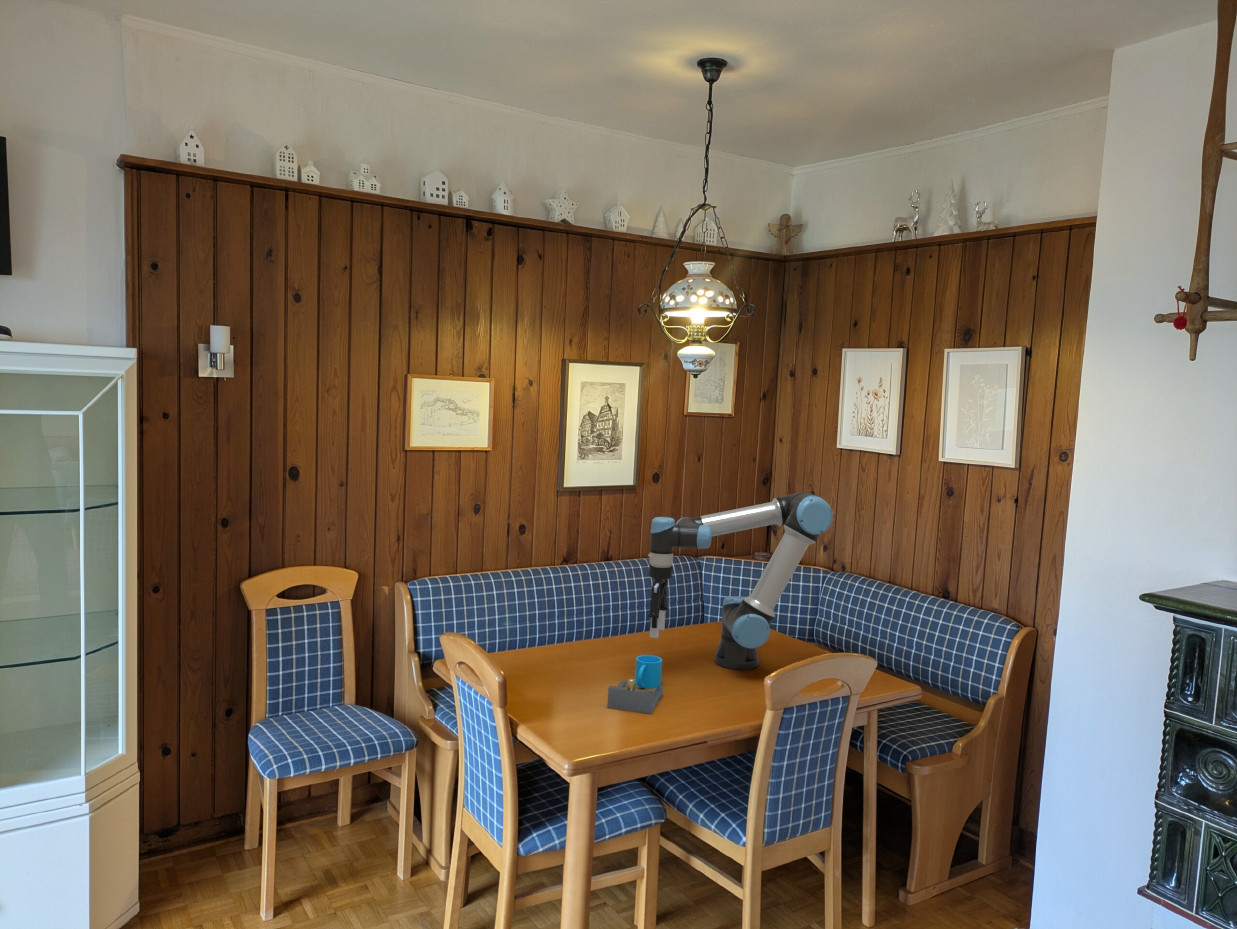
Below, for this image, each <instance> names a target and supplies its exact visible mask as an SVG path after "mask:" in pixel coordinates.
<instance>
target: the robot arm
mask: <svg viewBox="0 0 1237 929" xmlns="http://www.w3.org/2000/svg"><path fill="white" fill-rule="evenodd" d="M833 520H834V512H833V509H832V507H831V505H830V504H829V503H828V502H827V501H826V500H825V499H823V498H822V497H819V496H817V495H815V494H813V493H810V492H805V491H804V492H803V491H801V492H795V493H792V494H788V495H784V496H780V497H779V496H778V497H774V498H773V499H772V501H770V502H765V503H760V504H755V505H751V506H745V507H740V508H735V509H730V510H725V511H719V512H716V513H709V514H705V515H701V516H695V517H687V516H686V517H681V518H679V519H678V520H677V521H676V520H675V519H674V518H673V517H667V516H656V517H654V518H653V519H652V520H651V525H650V526H651V527H650V528H651V529H650V541H649V542H650V545H649V553H648V554H647V557H649V564H650V565H649V566H648V576H649V578H650V579H653V580H654V582H653V583H652V586H651V597H650V608H649V613H648V618H649V619H650V625H649V638H652V639H653V638H654V639H659V637H660V636H659V634H660V633H659V632H660V631H666V630H665V626H666V611H669V607H668V580H670V579H671V578H672V577H673V566H672V565H673V563H674V548H676V549H679V548H680V549H698V550H701V549H709V548H710V546H711V544H712V538H713V537H715V536H717V537H718V536H721V535H727V534H731V533H732V534H733V533H736V532H740V531H746V530H751V529H757V528H762V527H766V526H767V527H768V526H770V525H771V526H772V525H777V526H779V527H782V526H783V528H784V533H783V536H782V537H781V539H780V541H779V543H778V544H777V546H776V548H775V550H774V552H773V554H772V556H771V557H770V559H769V561H768V562H767V564H766V567H765V568H764V570H763V572H762V574H761V575H760V578H759V579H758V581H757V583H756V585H755V587H754V589H753V590H752V592H751V593H750V594H749V595H750V596H749V595H748V596H739V595H738V596H735V595H734V596H732V595H731V596H730V595H729V596H725V597H724V599H723V603H722V615H721V616H722V617H721V631H720V641H719V644H718V646H717V648H716V651H715V653H714V662H715V664H716V665H718V666H720V667H723V668H727V669H731V670H741V671H743V670H745V671H746V670H752V668H753V669H756V668H757V666H758V665H759V664H760V657H759V653H758V650H757V648H759V647H761V646H763V645H764V644H765V643H766V642H767V641H768V640H769V637H770V633H771V627H770V626H771V625H772V622H773V621H774V619H775V617H776V614H775V610H774V609H775V608H776V605H777V603H778V602H779V600H780V598H781V596H782V595H783V592H784V591H785V589H786V588H787V585H788V584H789V582H790V581H791V578H792V576H793V575H794V573H795V571H796V569H797V567H798V566H799V564H800V562H801V560H802V558H803V557H804V554H805V553H806V551H807V549H808V547H809V546H810V545H814V544H816V542H818V540H819V537H820V536H821V534H823V533H825V532H826V531H828V530H829V528H830V527H831V526H832V524H833ZM755 667H756V668H755Z"/></svg>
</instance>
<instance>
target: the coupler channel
mask: <svg viewBox="0 0 1237 929" xmlns="http://www.w3.org/2000/svg"><path fill="white" fill-rule="evenodd" d="M635 687H636V685H635V678H632V677H631V678H630V677H629V678H627V680H623V679H622V680H620V682H619V683H618V684H617V685H609V686H608V688H607V708H608V709H613V710H618V711H619V710H620V711H626V712H627V711H628V712H634V713H643V714H649V715H652V714H653V712H654V710H656V709H655V708H656V707H657V706H658V704H659V702H660V701H661V698H662V697H663V695H664V685H662V684H661V685H658V686H657V688H655V689H654V690H648V689H639V688H635Z"/></svg>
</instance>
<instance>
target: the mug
mask: <svg viewBox="0 0 1237 929" xmlns="http://www.w3.org/2000/svg"><path fill="white" fill-rule="evenodd" d="M662 664H663V659H662V658H661V657H660V656H656V655H647V654H644V655H639V656H636V658H635V671H634V672H635V674H634V675H635V676H634V679H635V687H638V688H640V689H644V690H652V689H654V690H656V688H657V686H658V685H662V668H663V667H662V666H663V665H662Z"/></svg>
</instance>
